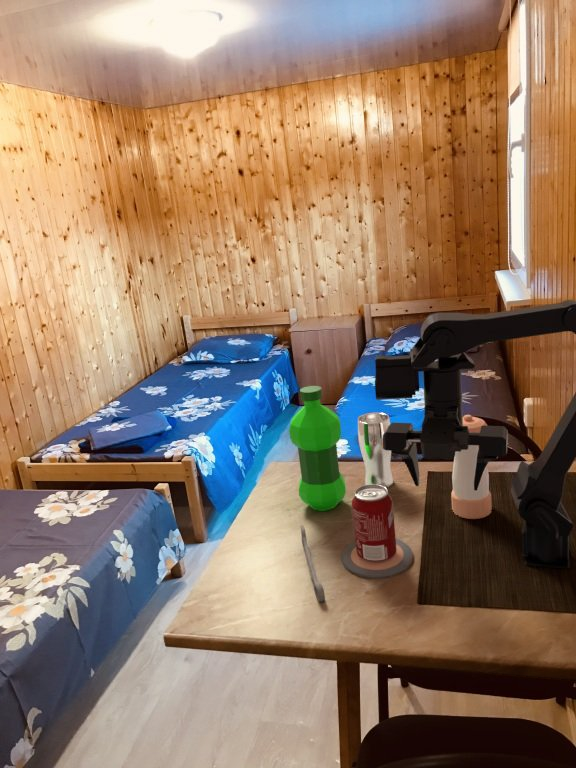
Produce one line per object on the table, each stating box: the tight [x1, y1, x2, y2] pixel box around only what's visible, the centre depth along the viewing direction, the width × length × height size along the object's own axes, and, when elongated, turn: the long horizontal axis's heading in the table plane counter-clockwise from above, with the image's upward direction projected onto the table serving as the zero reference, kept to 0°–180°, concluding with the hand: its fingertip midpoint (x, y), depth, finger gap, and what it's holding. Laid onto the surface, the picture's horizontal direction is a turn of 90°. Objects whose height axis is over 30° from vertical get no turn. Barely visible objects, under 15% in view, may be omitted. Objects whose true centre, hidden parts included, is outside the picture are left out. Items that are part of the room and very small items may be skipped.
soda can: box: [351, 484, 397, 563], centre depth 104 cm, size 7×7×12 cm
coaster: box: [341, 538, 414, 579], centre depth 106 cm, size 12×12×1 cm
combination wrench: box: [300, 524, 326, 603], centre depth 105 cm, size 4×1×20 cm
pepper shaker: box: [450, 414, 493, 520], centre depth 115 cm, size 7×7×19 cm
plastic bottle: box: [288, 385, 347, 512], centre depth 123 cm, size 10×10×25 cm
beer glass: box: [357, 411, 394, 489], centre depth 131 cm, size 7×7×15 cm
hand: (446, 487), depth 100 cm, fingers open, 9 cm apart
